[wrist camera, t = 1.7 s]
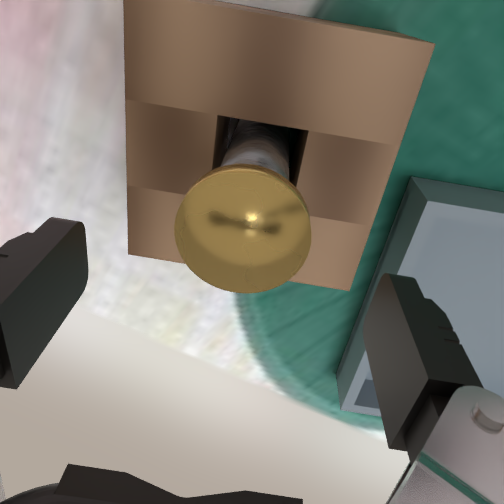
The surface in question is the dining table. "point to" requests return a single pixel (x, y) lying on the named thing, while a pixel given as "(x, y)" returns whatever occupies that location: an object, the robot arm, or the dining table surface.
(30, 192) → the dining table surface
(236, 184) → the pin
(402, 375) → the robot arm
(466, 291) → the tray
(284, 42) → the pin block
